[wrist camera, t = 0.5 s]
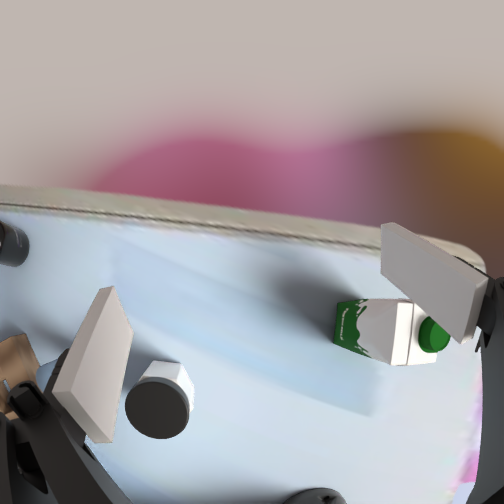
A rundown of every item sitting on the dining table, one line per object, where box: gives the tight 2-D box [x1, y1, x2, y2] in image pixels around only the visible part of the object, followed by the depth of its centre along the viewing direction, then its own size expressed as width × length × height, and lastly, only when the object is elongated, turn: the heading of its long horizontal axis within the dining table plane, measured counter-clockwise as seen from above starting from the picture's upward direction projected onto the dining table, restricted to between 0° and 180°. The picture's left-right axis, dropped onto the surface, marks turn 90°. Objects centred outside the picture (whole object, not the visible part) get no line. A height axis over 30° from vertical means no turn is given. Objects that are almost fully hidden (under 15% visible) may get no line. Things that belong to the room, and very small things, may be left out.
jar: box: [125, 360, 195, 439], centre depth 38 cm, size 9×8×12 cm
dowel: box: [36, 359, 58, 392], centre depth 35 cm, size 4×4×15 cm
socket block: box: [0, 334, 43, 420], centre depth 36 cm, size 17×17×5 cm
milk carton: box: [333, 298, 451, 366], centre depth 40 cm, size 9×9×20 cm
